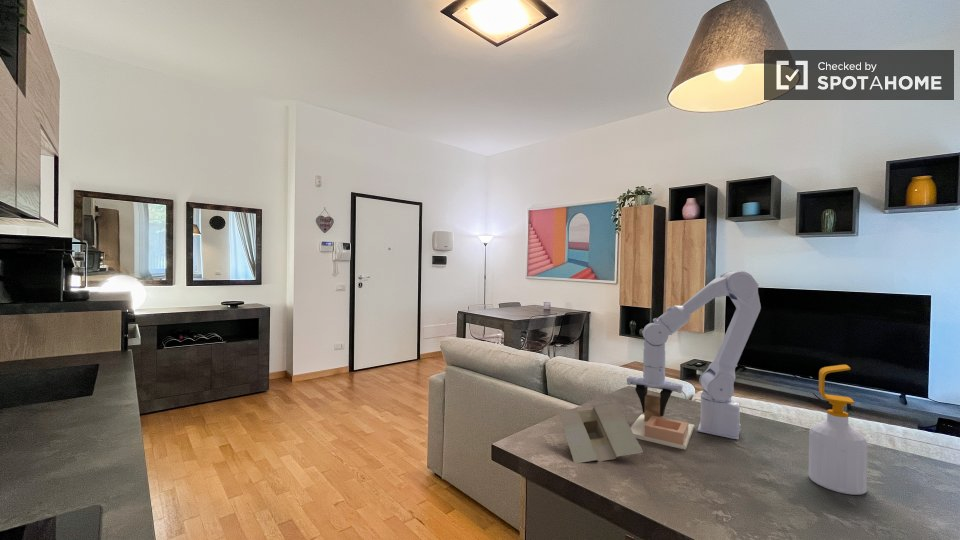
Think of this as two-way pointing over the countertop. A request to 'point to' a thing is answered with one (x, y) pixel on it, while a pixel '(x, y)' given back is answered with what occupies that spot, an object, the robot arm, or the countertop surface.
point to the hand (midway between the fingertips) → (653, 413)
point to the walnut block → (652, 406)
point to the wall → (598, 433)
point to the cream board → (639, 433)
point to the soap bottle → (837, 446)
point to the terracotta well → (666, 430)
